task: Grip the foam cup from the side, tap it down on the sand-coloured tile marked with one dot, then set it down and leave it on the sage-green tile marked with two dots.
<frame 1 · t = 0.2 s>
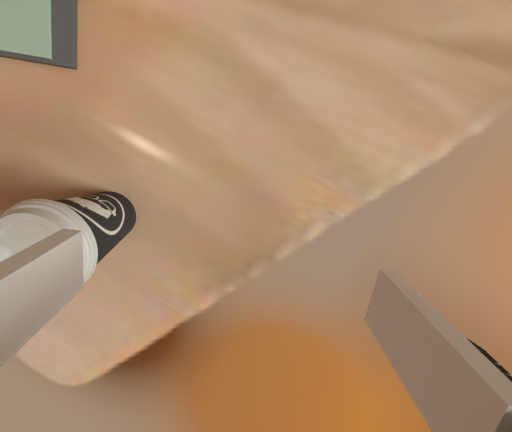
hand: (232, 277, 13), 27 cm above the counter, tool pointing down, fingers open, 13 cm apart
coffee cup: (113, 214, 40), on the counter
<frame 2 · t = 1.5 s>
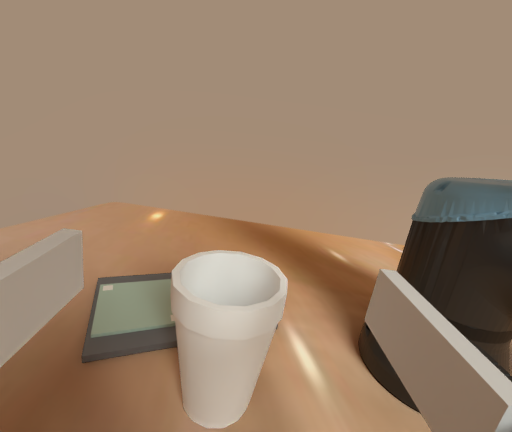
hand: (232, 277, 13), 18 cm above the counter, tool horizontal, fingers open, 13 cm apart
foam cup: (215, 396, 27), on the counter
tile board: (182, 304, 39), on the counter
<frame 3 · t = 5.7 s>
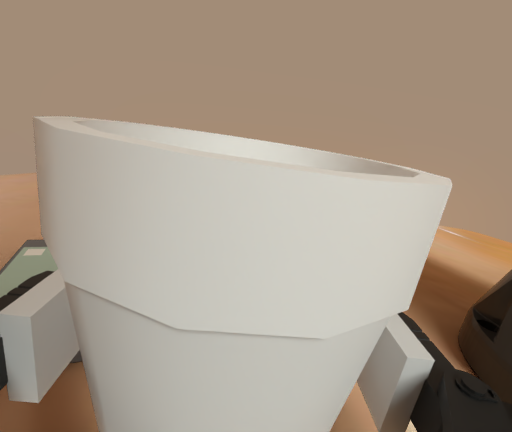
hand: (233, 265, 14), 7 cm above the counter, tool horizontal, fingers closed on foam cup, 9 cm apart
tile board: (158, 283, 24), on the counter
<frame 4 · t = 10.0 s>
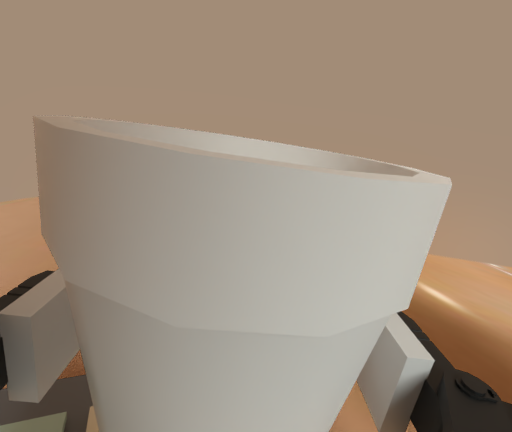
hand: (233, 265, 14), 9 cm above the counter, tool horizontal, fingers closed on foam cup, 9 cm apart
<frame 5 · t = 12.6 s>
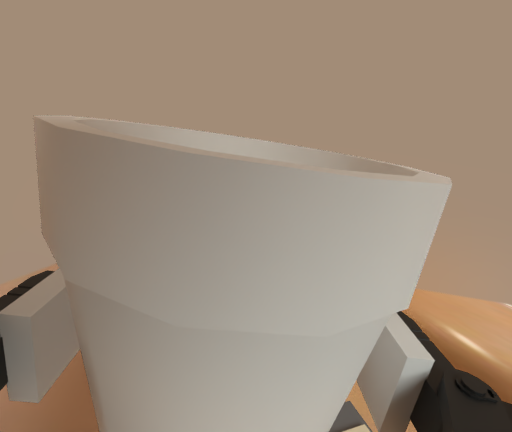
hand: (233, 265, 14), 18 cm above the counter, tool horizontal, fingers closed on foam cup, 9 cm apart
when the fingers open (9 cm above the counter, at t = 14.6 s): foam cup drops 1 cm, resting on tile board.
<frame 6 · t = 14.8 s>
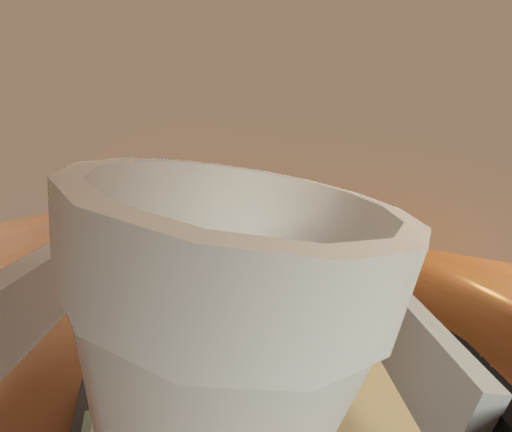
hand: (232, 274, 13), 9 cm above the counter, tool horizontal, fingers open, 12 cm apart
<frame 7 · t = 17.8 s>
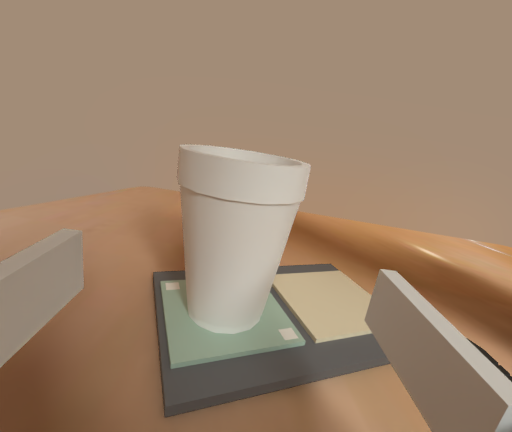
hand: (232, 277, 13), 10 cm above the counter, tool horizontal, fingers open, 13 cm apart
foam cup: (224, 310, 24), point 1 cm above the counter, touching tile board
tile board: (280, 313, 27), on the counter
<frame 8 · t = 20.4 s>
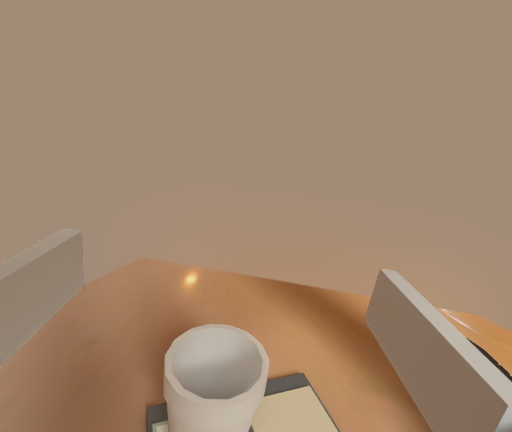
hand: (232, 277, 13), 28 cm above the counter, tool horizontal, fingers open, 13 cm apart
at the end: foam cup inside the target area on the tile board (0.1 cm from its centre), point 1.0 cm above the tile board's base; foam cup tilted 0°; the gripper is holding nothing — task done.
